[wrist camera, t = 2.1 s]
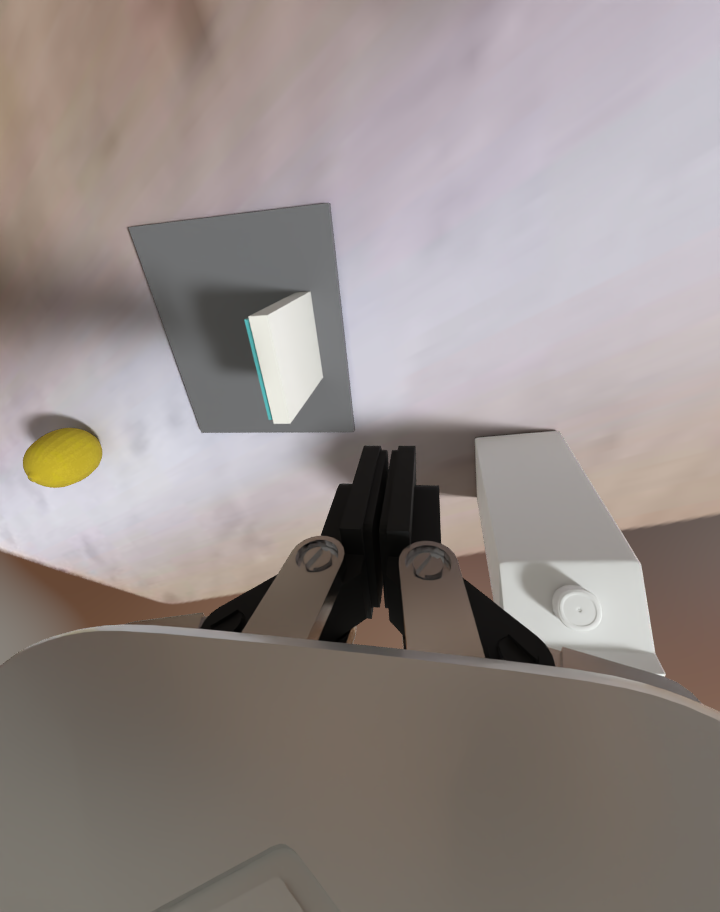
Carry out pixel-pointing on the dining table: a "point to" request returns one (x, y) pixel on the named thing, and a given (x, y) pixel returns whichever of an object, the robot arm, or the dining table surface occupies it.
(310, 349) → the tile
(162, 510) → the dining table surface
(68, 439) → the lemon
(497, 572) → the milk carton
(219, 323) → the mat
